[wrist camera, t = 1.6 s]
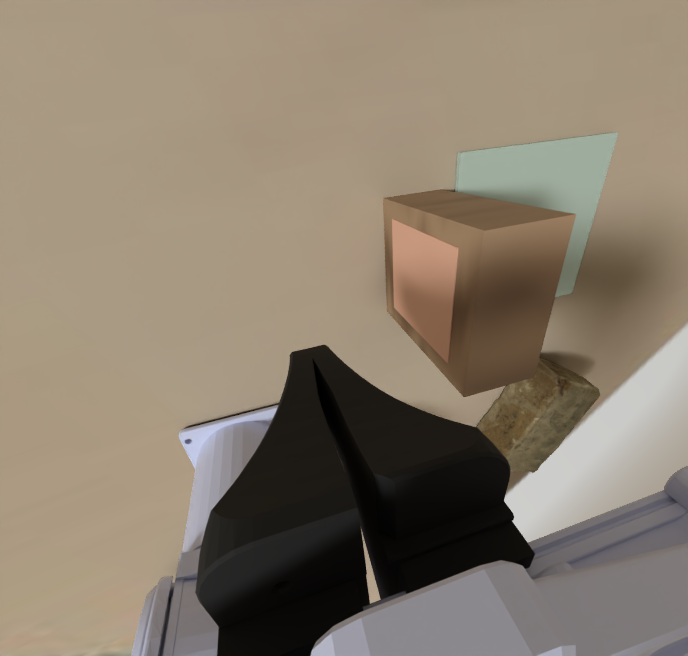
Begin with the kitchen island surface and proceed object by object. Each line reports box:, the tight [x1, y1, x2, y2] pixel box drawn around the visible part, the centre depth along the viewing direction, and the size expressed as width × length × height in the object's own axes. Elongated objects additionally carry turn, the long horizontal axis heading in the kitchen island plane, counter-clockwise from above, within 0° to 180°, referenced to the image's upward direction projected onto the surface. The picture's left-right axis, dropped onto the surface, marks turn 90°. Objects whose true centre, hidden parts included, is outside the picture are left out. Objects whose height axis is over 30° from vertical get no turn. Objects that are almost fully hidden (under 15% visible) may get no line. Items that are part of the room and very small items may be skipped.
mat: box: [455, 132, 618, 297], centre depth 24 cm, size 12×12×1 cm
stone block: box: [476, 358, 600, 472], centre depth 31 cm, size 6×12×5 cm, turn 157°
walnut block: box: [383, 190, 576, 397], centre depth 18 cm, size 8×4×10 cm, turn 6°
